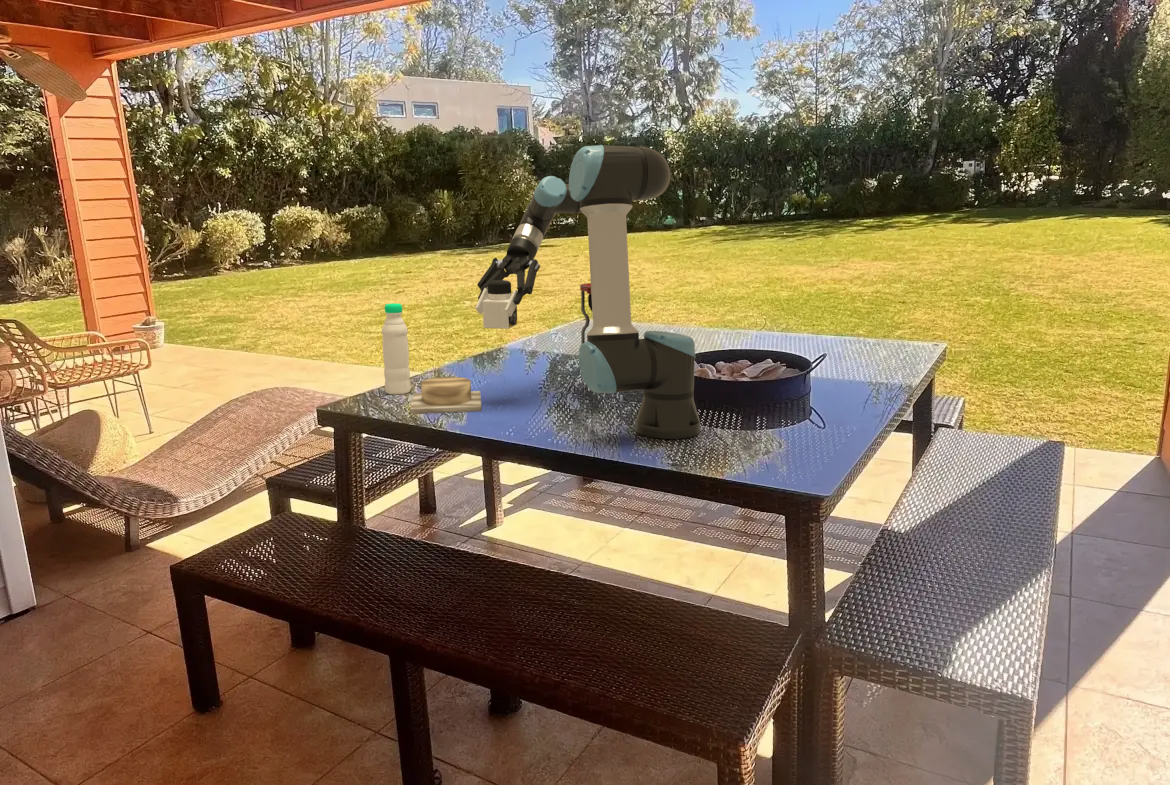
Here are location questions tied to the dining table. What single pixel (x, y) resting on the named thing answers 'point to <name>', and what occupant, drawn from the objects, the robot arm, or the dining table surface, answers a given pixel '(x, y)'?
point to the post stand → (446, 396)
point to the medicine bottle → (498, 306)
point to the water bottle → (395, 351)
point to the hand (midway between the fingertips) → (493, 311)
